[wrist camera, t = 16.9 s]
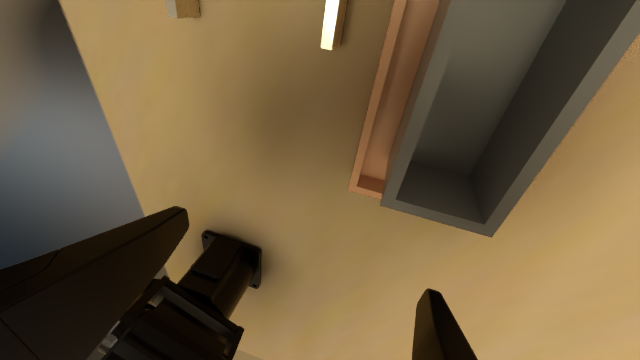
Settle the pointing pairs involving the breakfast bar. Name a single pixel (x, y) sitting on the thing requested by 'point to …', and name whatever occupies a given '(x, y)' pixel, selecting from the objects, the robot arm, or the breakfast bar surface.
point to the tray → (394, 92)
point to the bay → (186, 5)
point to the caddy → (498, 102)
